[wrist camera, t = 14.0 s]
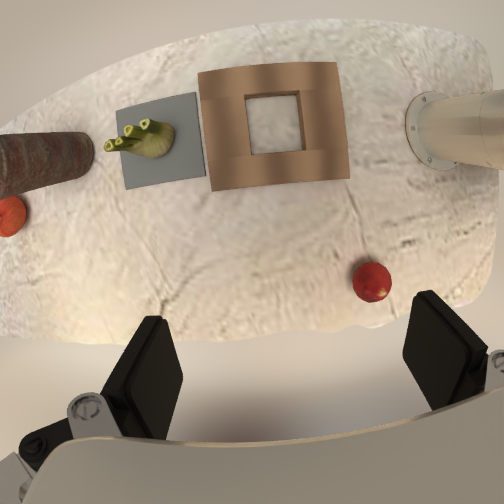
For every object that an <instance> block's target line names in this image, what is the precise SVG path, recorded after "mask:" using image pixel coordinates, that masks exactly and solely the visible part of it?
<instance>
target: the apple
mask: <svg viewBox="0 0 504 504" xmlns="http://www.w3.org/2000/svg"><path fill="white" fill-rule="evenodd" d="M25 218H26V208H25V206H24V204H23V202H22V201H21V200H20V199H19V198H18V197H16V196H10V197H7V198H5V199H2V200H0V236H1V237H10V236H13V235H14V234H16V233H17V232H18V231H19V230H20V229H21V227H22V226H23V224H24V222H25Z"/></svg>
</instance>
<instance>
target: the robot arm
mask: <svg viewBox="0 0 504 504" xmlns="http://www.w3.org/2000/svg"><path fill="white" fill-rule="evenodd" d="M406 132H407V137H408V140H409V143H410V146H411V148H412V149H413V151H414V153H415V154H416V156H417V157H418V158H419V159H420V160H421V161H422V162H423V163H424V164H425V165H427V166H428V167H431V168H433V169H437V170H449V169H452V168H454V167H455V166H457V165H458V164H459V163H465V164H472V165H478V166H484V167H490V168H496V169H501V170H504V90H496V91H489V92H482V93H475V94H469V95H463V96H457V97H452V98H449V97H447V96H445V95H443V94H441V93H438V92H427V93H423V94H421V95H419V96H417V97H416V98H415V99H414V100H413V101H412V102H411V104H410V106H409V108H408V111H407V115H406ZM487 349H488V346H487V345H486V344H485V343H484V342H483V341H482V340H481V339H480V338H479V337H478V335H476V334H475V332H474V331H473V330H472V329H471V328H470V327H469V326H468V325H467V324H466V323H465V322H464V321H463V320H462V319H461V318H460V317H459V316H458V315H457V314H456V313H455V312H454V311H453V310H452V309H451V308H450V307H449V306H448V305H447V304H446V303H445V302H444V301H443V300H442V299H441V298H440V297H439V296H438V295H437V294H436V293H435V292H434V291H432V290H427V291H421V292H418V293H417V295H416V296H415V297H414V298H413V301H412V307H411V313H410V319H409V324H408V329H407V334H406V338H405V343H404V347H403V359H404V361H405V363H406V364H407V366H408V368H409V370H410V371H411V373H412V375H413V377H414V378H415V380H416V382H417V383H418V385H419V387H420V389H421V391H422V392H423V394H424V396H425V398H426V400H427V402H428V403H429V405H430V407H431V409H432V411H431V412H428V413H424V414H421V415H418V416H414V417H411V418H407V419H404V420H400V421H396V422H393V423H389V424H384V425H380V426H376V427H371V428H366V429H362V430H357V431H351V432H346V433H340V434H334V435H327V436H320V437H313V438H305V439H296V440H284V441H270V442H252V443H251V442H250V443H206V442H184V441H183V442H182V441H169V440H166V437H167V433H168V430H169V426H170V423H171V419H172V416H173V412H174V409H175V406H176V402H177V399H178V395H179V392H180V389H181V385H182V382H183V373H182V370H181V367H180V363H179V360H178V357H177V354H176V351H175V347H174V343H173V340H172V337H171V333H170V329H169V326H168V322H167V320H166V319H163V318H162V317H161V316H145V318H144V319H143V321H142V322H141V324H140V326H139V327H138V329H137V331H136V332H135V334H134V335H133V337H132V339H131V340H130V342H129V344H128V345H127V347H126V349H125V350H124V352H123V354H122V355H121V357H120V359H119V361H118V362H117V364H116V366H115V368H114V369H113V371H112V373H111V375H110V376H109V378H108V380H107V382H106V383H105V385H104V387H103V389H102V391H101V393H100V394H98V393H93V392H91V393H84V394H81V395H79V396H77V397H76V398H74V399H73V400H72V401H71V402H70V404H69V405H68V408H67V416H68V417H67V418H65V419H63V420H60V421H58V422H56V423H53V424H51V425H49V426H46V427H44V428H41V429H39V430H36V431H34V432H31V433H29V434H28V435H26V436H25V437H24V438H23V439H22V441H21V442H20V445H19V453H18V454H16V453H15V452H13V453H11V454H10V455H9V456H7V457H6V458H4V459H3V460H2V461H0V504H504V350H495V351H493V352H491V354H490V355H488V354H487V353H486V352H487Z"/></svg>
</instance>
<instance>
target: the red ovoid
mask: <svg viewBox="0 0 504 504" xmlns="http://www.w3.org/2000/svg"><path fill="white" fill-rule="evenodd" d="M391 286H392V280H391V275H390V273H389V272H388V270H387V268H386V267H384V266H382V265H381V264H379V263H375V262H370V263H366V264H364V265H362V266H361V267H359V268H358V270H357V271H356V272H355V275H354V278H353V288H354V291H355V292H356V294H357V296H358V297H359V298H360V299H362V300H364V301H366V302H368V303H371V302H377V301H380V300H383V299H384V298H385V297H386V296H387V295H388V293H389V292H390V289H391Z"/></svg>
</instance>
